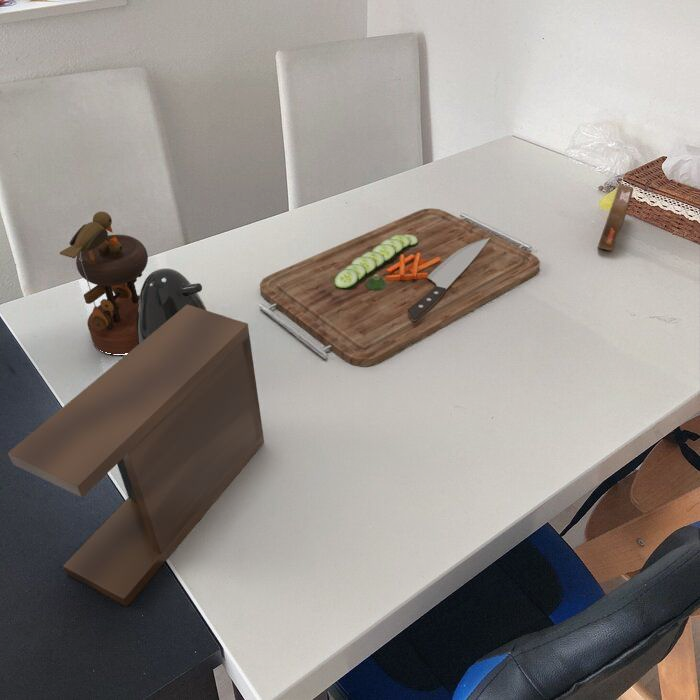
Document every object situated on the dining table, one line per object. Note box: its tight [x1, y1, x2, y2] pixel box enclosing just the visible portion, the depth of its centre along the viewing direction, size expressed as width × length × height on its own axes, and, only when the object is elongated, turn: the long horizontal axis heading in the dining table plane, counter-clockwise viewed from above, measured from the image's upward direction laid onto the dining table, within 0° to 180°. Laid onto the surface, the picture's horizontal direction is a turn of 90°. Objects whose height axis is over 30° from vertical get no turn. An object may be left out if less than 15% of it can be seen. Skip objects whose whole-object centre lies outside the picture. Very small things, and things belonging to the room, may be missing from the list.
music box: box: [59, 211, 149, 354], centre depth 94 cm, size 15×11×20 cm
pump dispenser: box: [136, 267, 208, 345], centre depth 89 cm, size 10×10×15 cm
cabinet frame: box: [7, 305, 265, 608], centre depth 70 cm, size 8×24×18 cm, turn 153°
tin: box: [597, 182, 634, 251], centre depth 116 cm, size 15×3×8 cm, turn 155°
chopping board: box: [258, 207, 541, 368], centre depth 109 cm, size 45×27×3 cm, turn 130°
